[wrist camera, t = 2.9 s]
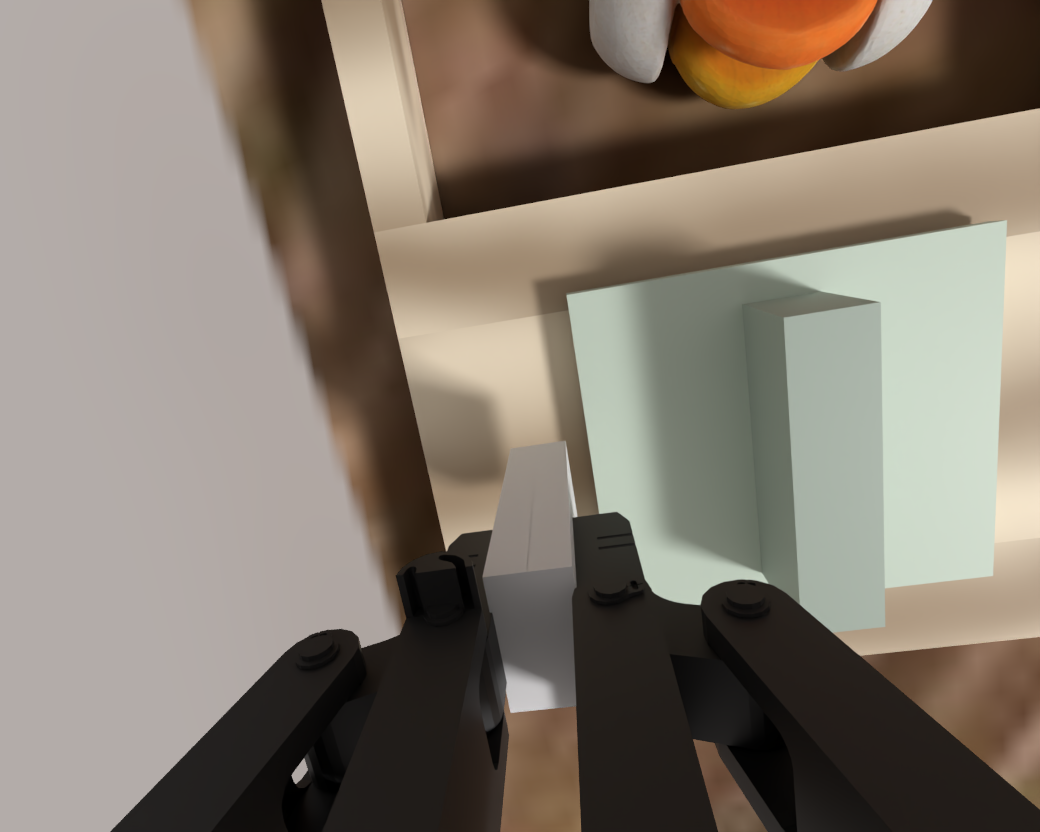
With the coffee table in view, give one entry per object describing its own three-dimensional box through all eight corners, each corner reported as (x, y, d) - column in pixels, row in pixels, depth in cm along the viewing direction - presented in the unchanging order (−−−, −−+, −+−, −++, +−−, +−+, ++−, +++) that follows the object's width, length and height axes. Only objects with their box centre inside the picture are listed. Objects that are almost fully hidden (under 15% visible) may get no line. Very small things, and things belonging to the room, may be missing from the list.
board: (278, -334, 16) (216, -463, 13) (1447, -673, 13) (1698, -930, 10) (488, 640, 24) (478, 695, 21) (1248, 554, 21) (1358, 603, 18)
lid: (566, 293, 17) (569, 305, 13) (990, 220, 16) (1115, 214, 12) (613, 608, 19) (625, 687, 16) (979, 565, 18) (1079, 641, 15)
